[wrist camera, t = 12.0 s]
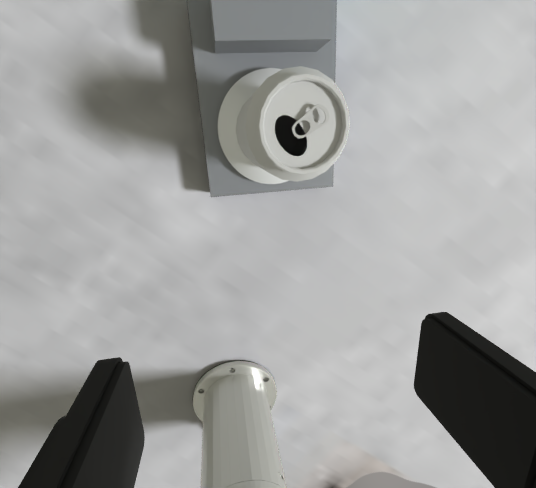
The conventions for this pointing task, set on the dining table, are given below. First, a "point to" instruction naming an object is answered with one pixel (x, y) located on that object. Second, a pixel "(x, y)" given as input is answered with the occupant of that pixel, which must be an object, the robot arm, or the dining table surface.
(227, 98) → the scale
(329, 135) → the can
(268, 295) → the dining table surface
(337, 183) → the dining table surface
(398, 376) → the dining table surface
